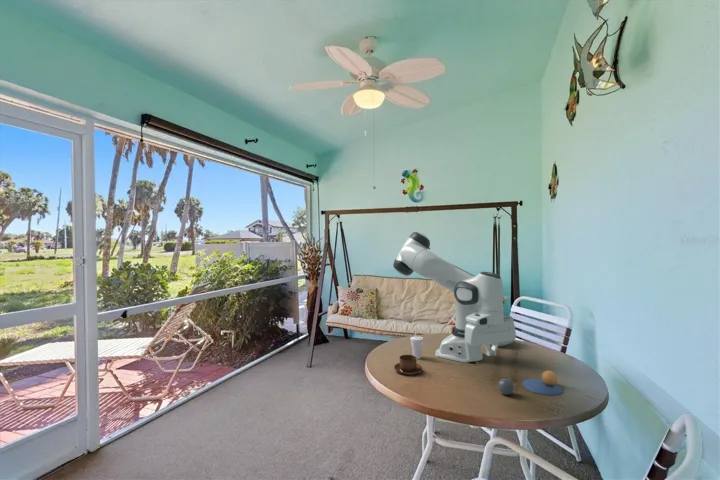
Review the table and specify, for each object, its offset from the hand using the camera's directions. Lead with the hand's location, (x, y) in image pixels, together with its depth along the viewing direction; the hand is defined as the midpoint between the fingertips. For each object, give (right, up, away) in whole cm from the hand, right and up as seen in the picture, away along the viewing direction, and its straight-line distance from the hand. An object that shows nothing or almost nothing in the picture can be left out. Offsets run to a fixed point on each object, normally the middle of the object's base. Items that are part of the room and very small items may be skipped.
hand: (491, 355), depth 123 cm
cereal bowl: (+28, -16, +63) cm, 71 cm away
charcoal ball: (+6, -12, +2) cm, 14 cm away
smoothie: (-20, -16, +42) cm, 49 cm away
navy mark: (+23, -15, +8) cm, 28 cm away
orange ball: (+27, -12, +10) cm, 31 cm away
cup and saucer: (-27, -16, +25) cm, 40 cm away
